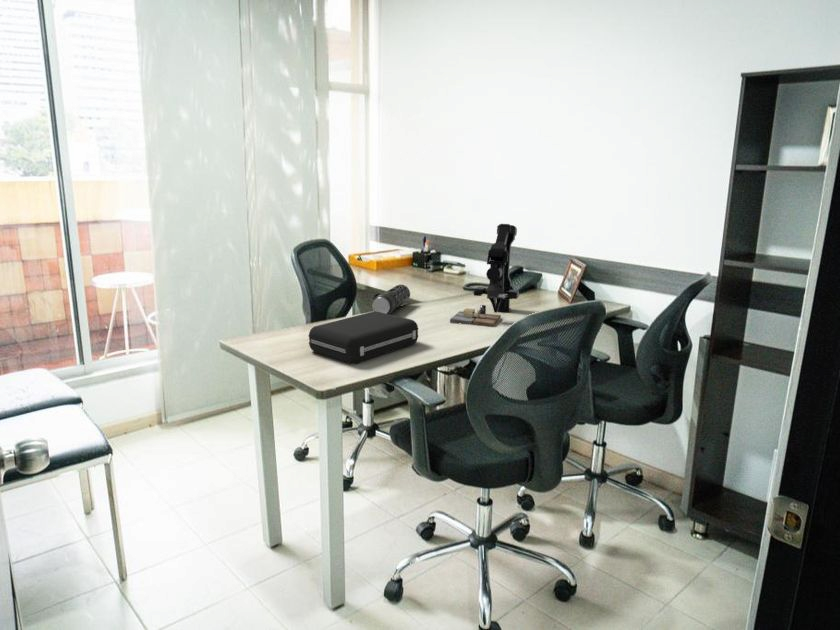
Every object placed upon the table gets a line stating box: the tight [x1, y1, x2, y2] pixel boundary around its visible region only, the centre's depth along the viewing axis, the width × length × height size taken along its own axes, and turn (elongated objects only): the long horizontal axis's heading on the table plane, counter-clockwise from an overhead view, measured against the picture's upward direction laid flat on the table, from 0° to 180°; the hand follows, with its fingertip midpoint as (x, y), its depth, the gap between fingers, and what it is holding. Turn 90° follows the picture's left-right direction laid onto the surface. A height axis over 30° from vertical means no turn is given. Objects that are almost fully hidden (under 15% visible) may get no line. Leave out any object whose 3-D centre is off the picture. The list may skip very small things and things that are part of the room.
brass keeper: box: [463, 307, 480, 319], centre depth 273 cm, size 4×7×3 cm, turn 70°
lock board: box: [449, 310, 502, 328], centre depth 273 cm, size 15×19×2 cm
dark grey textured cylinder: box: [371, 284, 411, 315], centre depth 287 cm, size 10×28×10 cm, turn 163°
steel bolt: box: [473, 304, 487, 318], centre depth 272 cm, size 2×8×5 cm, turn 71°
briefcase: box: [308, 310, 419, 364], centre depth 234 cm, size 36×32×10 cm
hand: (495, 312), depth 269 cm, fingers closed
